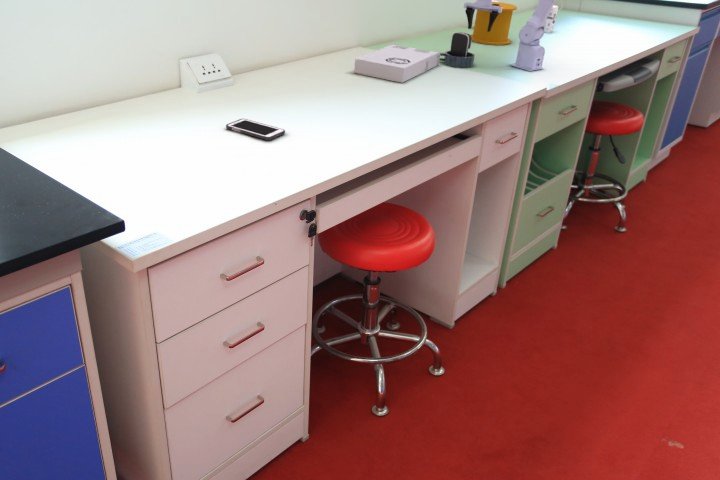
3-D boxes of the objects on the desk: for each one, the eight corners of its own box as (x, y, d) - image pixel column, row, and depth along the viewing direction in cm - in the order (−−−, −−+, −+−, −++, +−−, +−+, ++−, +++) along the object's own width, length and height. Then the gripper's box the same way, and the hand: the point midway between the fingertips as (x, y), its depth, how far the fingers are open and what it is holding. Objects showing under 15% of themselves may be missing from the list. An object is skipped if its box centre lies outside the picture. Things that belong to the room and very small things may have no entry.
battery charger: (468, 65, 256) (473, 34, 251) (463, 66, 254) (468, 35, 248) (453, 61, 260) (458, 30, 255) (447, 62, 258) (452, 31, 252)
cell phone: (268, 141, 174) (268, 137, 173) (224, 128, 180) (224, 124, 180) (286, 133, 179) (286, 130, 179) (242, 121, 186) (242, 118, 185)
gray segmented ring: (473, 62, 261) (475, 52, 259) (472, 69, 252) (474, 58, 250) (437, 58, 263) (439, 48, 261) (435, 65, 254) (436, 54, 252)
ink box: (532, 30, 324) (537, 4, 318) (537, 28, 328) (542, 3, 322) (548, 33, 320) (554, 7, 314) (553, 32, 323) (559, 6, 317)
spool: (513, 39, 302) (520, 4, 294) (505, 47, 288) (512, 10, 280) (474, 34, 308) (480, -1, 300) (464, 41, 294) (470, 4, 286)
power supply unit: (439, 65, 254) (440, 51, 252) (402, 83, 229) (404, 68, 227) (393, 56, 262) (395, 43, 259) (353, 73, 237) (354, 58, 235)
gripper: (506, -6, 258) (500, 30, 265) (470, -11, 263) (464, 25, 270) (502, -4, 252) (495, 33, 259) (464, -9, 258) (459, 28, 265)
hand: (479, 29), depth 264 cm, fingers open, 7 cm apart
